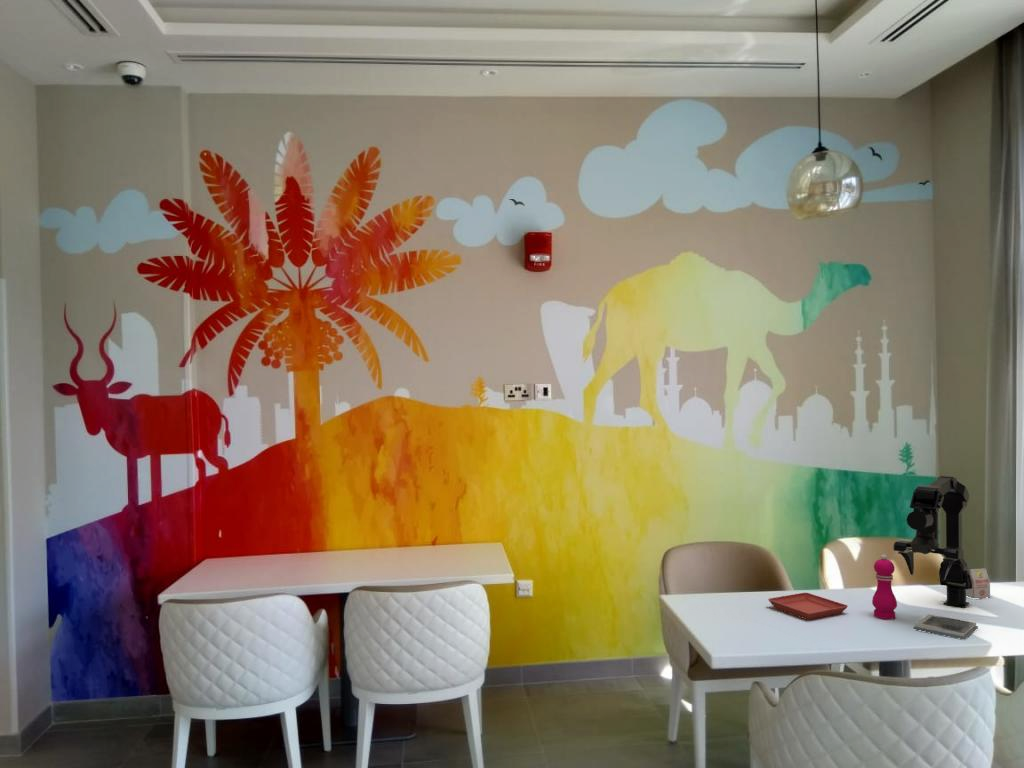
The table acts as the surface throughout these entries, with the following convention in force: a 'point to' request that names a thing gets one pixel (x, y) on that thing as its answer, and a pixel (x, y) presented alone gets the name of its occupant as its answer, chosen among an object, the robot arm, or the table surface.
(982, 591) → the tea bag
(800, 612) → the plant saucer
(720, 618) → the table surface
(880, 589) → the pepper mill
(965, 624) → the silver dock
